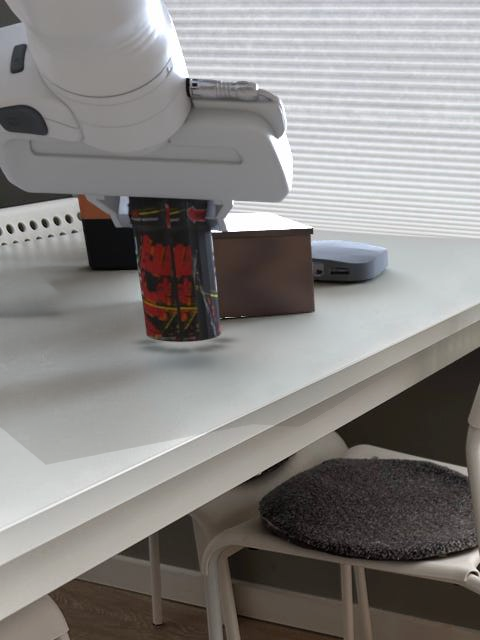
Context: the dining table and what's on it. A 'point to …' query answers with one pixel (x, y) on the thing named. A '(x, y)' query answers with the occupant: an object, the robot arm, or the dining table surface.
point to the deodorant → (175, 268)
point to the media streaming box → (347, 260)
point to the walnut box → (263, 266)
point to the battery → (106, 239)
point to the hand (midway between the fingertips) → (173, 222)
